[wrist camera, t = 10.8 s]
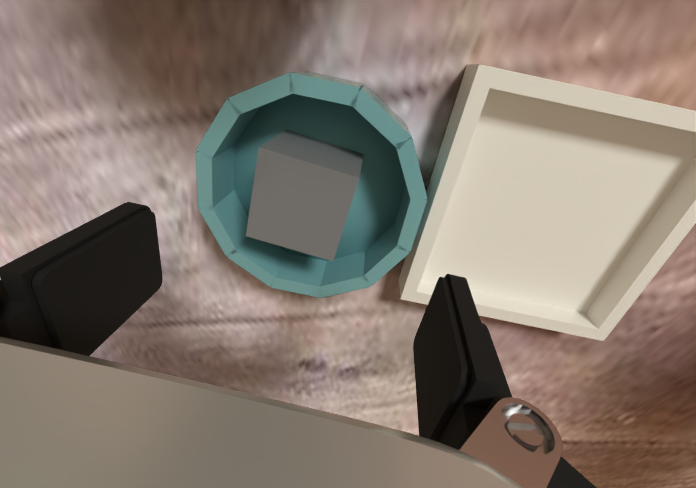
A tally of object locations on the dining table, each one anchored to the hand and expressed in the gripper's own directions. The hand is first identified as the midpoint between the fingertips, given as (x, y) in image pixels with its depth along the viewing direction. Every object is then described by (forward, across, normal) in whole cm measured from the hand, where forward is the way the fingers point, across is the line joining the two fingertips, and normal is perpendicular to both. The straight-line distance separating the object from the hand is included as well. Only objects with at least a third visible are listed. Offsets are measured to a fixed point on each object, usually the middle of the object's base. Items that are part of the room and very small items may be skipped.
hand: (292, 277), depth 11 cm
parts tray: (+11, -12, -1) cm, 16 cm away
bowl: (+10, +1, 0) cm, 10 cm away
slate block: (+10, +1, 0) cm, 10 cm away
